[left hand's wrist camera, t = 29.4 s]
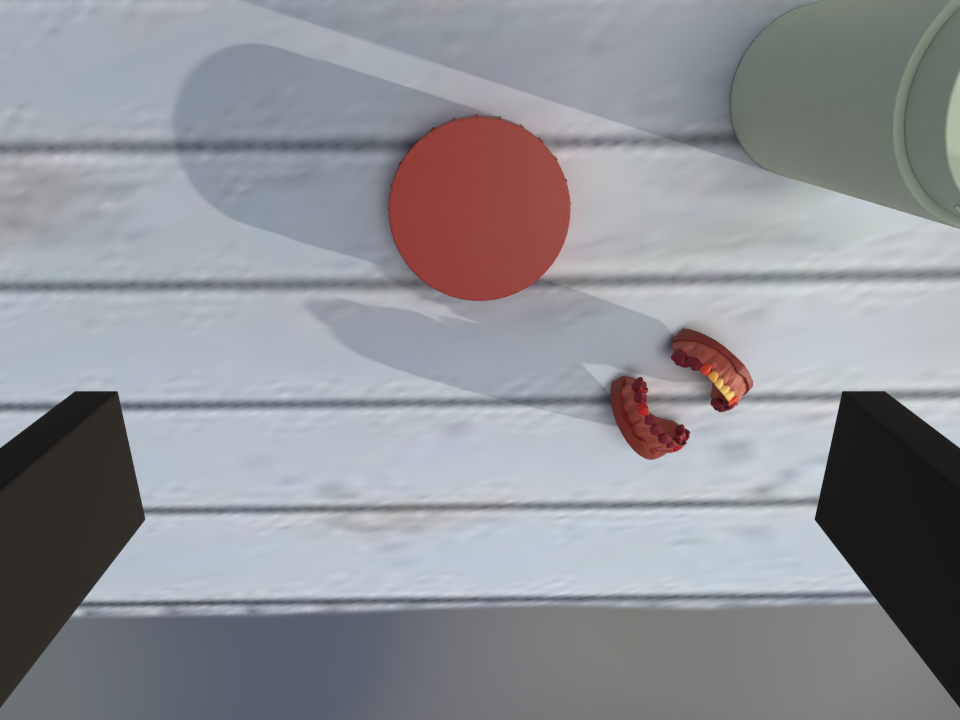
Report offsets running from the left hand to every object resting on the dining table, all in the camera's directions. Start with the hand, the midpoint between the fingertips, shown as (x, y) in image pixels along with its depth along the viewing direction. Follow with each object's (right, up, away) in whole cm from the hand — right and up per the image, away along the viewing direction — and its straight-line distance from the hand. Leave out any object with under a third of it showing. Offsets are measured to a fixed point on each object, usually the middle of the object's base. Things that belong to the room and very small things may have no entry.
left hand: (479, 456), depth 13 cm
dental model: (+12, 0, +31) cm, 33 cm away
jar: (+18, +16, +24) cm, 34 cm away
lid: (0, +10, +24) cm, 26 cm away
